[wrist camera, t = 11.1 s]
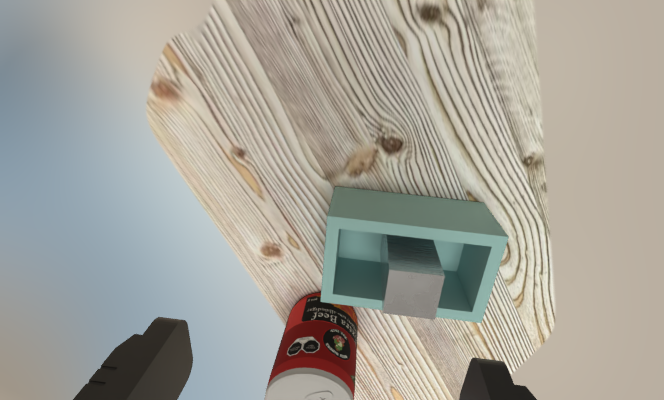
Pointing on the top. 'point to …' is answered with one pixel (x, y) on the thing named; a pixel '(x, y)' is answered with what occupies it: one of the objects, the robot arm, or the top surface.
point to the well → (419, 222)
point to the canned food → (316, 353)
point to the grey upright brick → (410, 276)
